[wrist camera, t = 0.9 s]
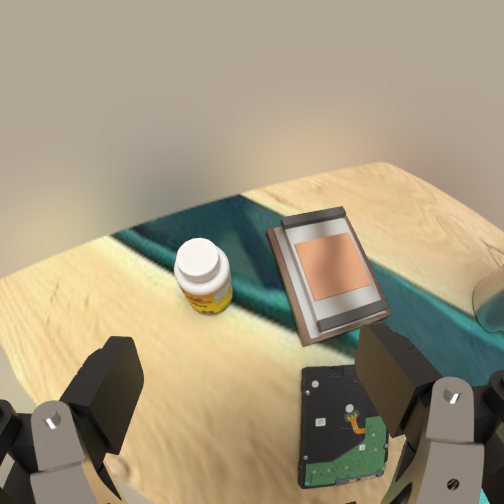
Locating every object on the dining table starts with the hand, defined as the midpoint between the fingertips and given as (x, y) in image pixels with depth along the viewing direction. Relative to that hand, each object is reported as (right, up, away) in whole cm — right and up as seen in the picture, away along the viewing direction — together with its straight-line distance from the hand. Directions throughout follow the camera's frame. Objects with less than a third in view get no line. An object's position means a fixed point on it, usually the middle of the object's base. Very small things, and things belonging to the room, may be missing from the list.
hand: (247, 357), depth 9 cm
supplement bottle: (-5, -2, +25) cm, 26 cm away
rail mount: (+10, +1, +26) cm, 28 cm away
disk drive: (+11, -17, +17) cm, 26 cm away
